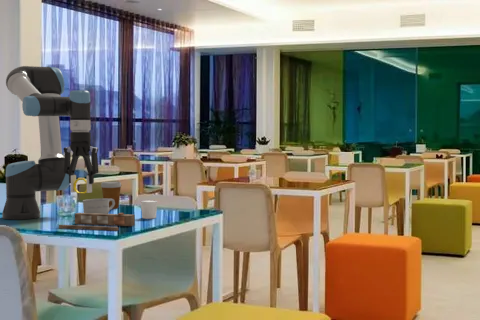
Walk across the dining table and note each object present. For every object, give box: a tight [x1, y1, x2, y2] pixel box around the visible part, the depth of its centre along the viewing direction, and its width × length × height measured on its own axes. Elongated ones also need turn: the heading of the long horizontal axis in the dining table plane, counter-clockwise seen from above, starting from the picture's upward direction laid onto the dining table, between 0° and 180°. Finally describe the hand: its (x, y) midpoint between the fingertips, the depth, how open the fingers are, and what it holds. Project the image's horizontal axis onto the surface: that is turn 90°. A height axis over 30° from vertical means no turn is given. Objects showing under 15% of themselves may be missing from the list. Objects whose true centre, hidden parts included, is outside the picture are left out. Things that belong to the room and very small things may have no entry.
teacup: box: [82, 197, 115, 214], centre depth 295 cm, size 14×11×8 cm
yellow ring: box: [74, 177, 87, 194], centre depth 270 cm, size 6×3×6 cm, turn 73°
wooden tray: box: [58, 212, 136, 232], centre depth 270 cm, size 24×15×5 cm, turn 74°
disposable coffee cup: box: [100, 181, 122, 210], centre depth 328 cm, size 10×10×12 cm
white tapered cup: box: [140, 199, 158, 220], centre depth 295 cm, size 7×7×7 cm
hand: (81, 192), depth 270 cm, fingers closed on yellow ring, 6 cm apart
